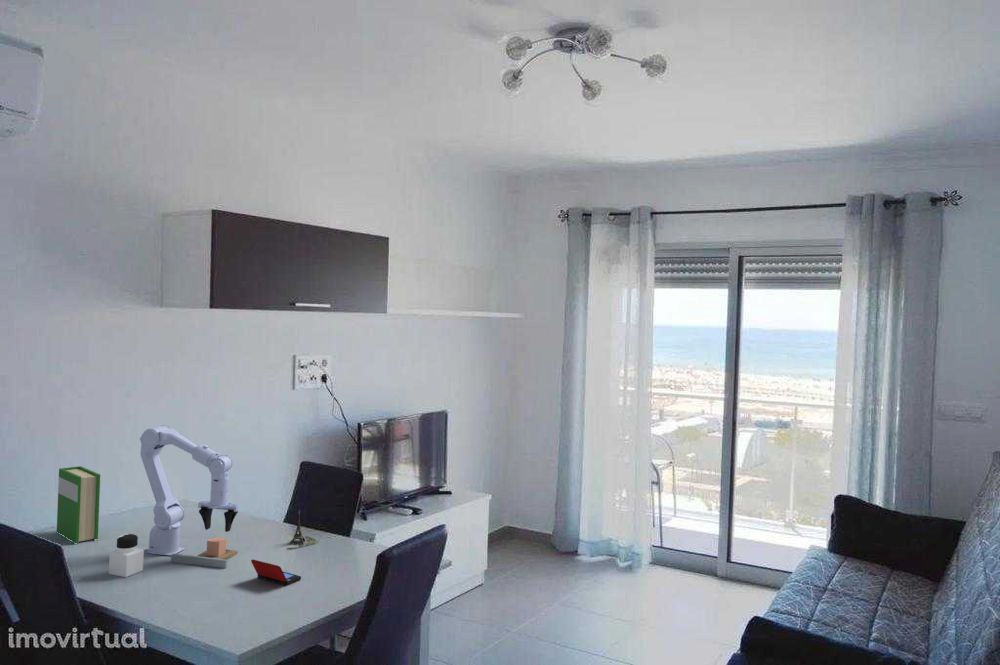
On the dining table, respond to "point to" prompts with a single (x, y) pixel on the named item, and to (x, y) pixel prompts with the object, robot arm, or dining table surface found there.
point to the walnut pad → (224, 556)
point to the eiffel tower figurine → (301, 537)
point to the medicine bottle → (126, 557)
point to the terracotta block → (216, 546)
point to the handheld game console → (274, 573)
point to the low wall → (199, 560)
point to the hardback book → (78, 503)
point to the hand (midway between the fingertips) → (217, 529)
